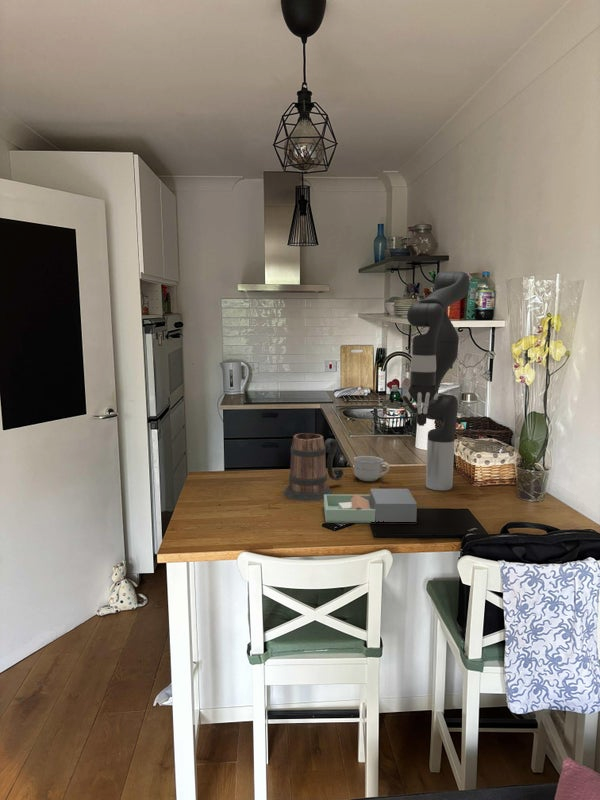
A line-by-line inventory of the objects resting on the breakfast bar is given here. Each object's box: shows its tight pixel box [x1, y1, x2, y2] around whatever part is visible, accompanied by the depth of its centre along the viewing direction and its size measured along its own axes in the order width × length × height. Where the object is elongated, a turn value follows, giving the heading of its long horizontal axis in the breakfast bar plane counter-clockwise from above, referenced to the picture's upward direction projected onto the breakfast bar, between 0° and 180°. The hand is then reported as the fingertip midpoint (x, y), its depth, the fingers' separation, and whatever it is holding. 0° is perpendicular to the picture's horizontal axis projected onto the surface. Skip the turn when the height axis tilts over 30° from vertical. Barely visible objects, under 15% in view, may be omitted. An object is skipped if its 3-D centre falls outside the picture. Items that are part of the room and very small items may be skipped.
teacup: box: [353, 455, 390, 482], centre depth 211 cm, size 14×11×8 cm
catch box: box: [323, 494, 376, 524], centre depth 176 cm, size 14×15×4 cm
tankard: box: [282, 432, 344, 502], centre depth 197 cm, size 24×17×20 cm
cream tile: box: [338, 502, 352, 509], centre depth 176 cm, size 5×5×2 cm
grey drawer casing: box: [369, 488, 418, 523], centre depth 176 cm, size 14×12×6 cm
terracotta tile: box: [351, 493, 370, 509], centre depth 173 cm, size 5×5×2 cm
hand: (421, 425), depth 178 cm, fingers closed
